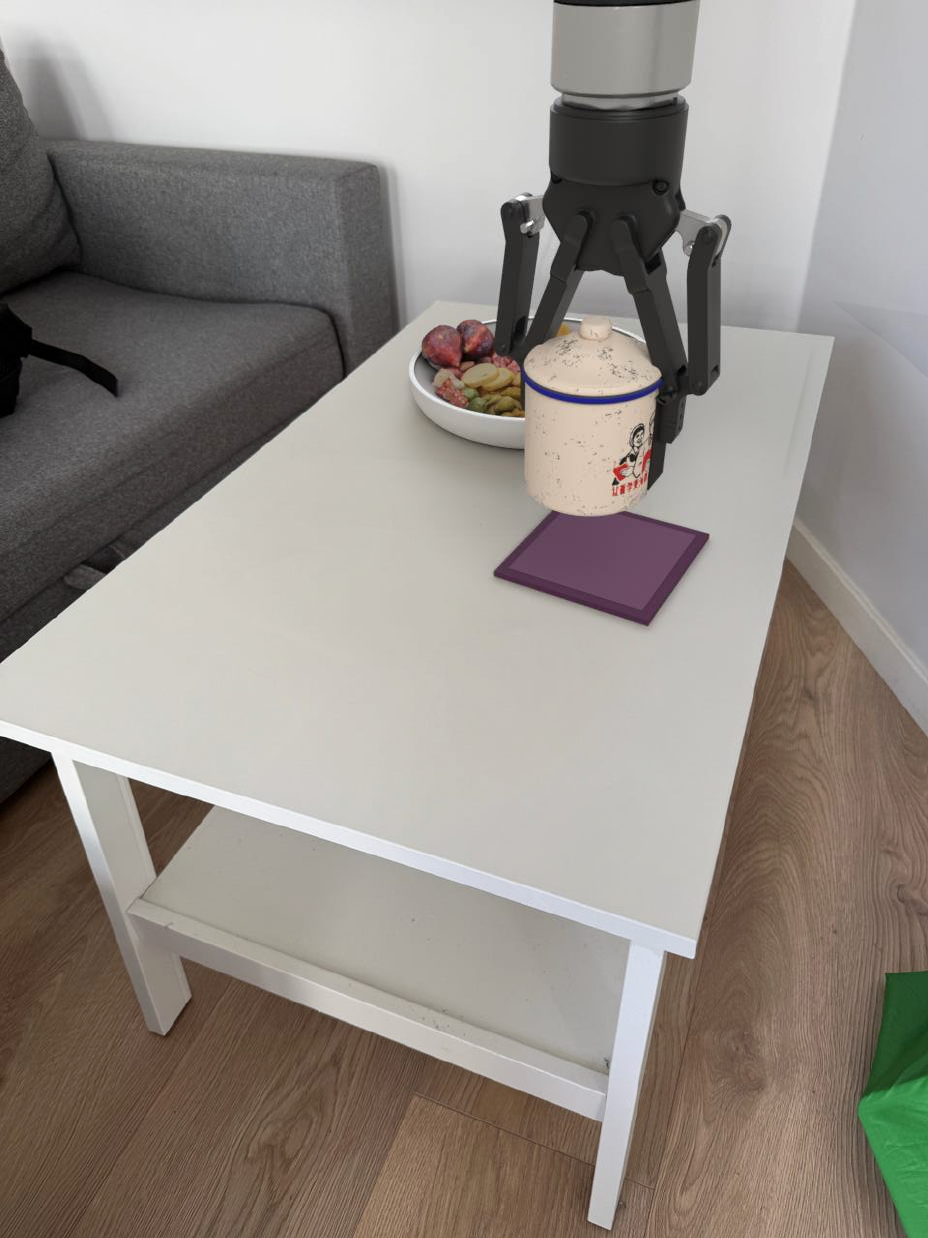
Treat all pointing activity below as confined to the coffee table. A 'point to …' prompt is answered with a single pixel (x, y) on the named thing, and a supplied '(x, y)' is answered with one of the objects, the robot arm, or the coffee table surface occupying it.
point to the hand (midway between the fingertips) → (595, 466)
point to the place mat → (605, 561)
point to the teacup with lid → (589, 420)
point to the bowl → (474, 382)
